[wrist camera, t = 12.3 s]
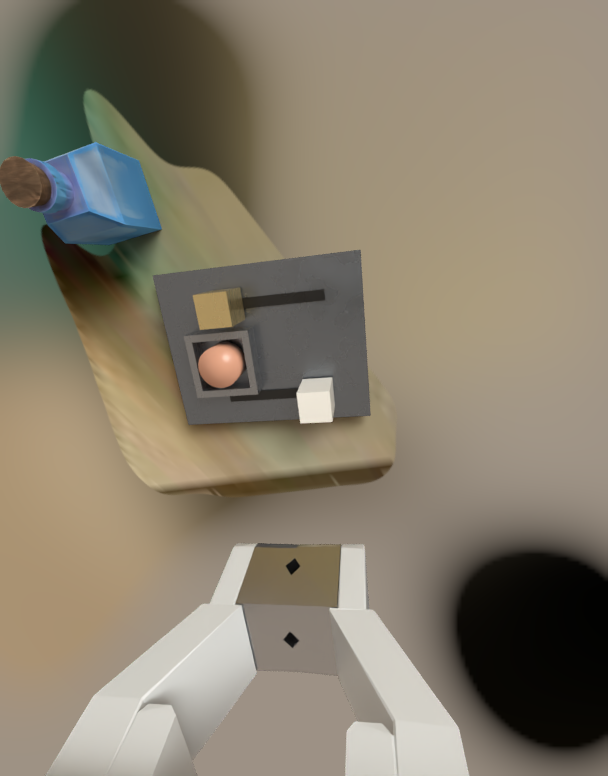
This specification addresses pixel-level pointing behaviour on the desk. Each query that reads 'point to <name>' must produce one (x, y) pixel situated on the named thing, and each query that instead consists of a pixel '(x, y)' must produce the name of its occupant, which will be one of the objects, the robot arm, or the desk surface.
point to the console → (272, 336)
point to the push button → (222, 364)
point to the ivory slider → (316, 400)
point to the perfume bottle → (84, 194)
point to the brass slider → (219, 308)
